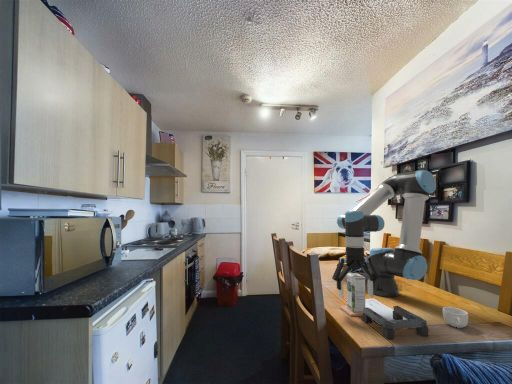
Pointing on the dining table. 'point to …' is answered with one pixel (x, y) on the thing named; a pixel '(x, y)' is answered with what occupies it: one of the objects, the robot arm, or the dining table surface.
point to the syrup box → (355, 292)
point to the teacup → (455, 317)
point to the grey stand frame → (396, 321)
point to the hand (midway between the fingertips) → (356, 296)
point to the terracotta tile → (351, 311)
